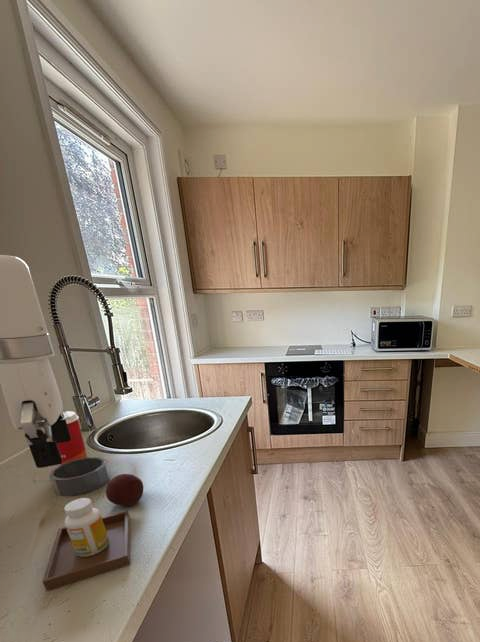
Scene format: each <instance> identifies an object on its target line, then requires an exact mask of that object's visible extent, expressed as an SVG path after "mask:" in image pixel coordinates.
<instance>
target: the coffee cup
mask: <svg viewBox="0 0 480 642" xmlns="http://www.w3.org/2000/svg"><path fill="white" fill-rule="evenodd" d="M62 412H63V414H64V419H65V420H66V423H67V426H68V429H69V432H70V436H71V440H70V441H68V442H62V443H57V446H58V449H59V452H60V455H61V458H62V463H61V464H64V463H67V462H70V461H72V460H76V459H81V458H86V457H88V455H87V451H86V446H85V442H84V438H83V433H82V430H81V425H80V421H79V419H80V417H79V415H78V414H77V413H76V412H75V411H71V410H67V411H62ZM64 419H61V420H64ZM41 422H44V421H41ZM61 464H60V465H61Z"/></svg>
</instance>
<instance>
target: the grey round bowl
mask: <svg viewBox="0 0 480 642" xmlns="http://www.w3.org/2000/svg"><path fill="white" fill-rule="evenodd" d="M49 473H50V474H49V476H48V477H49V480H50V482H51V485H52V488H53V490H54V493H56V494H58V496H60V497H63V496H64V497H75V496H79V495H83V494H87V493H90V492H93V491H95V490H97V489H99V488H102V487H103V486H104V485H106V484H108V483H109V481H110V480H111V474H110V470H109V466H108V463H107V459H105V458H102V457H101V456H87V457H86V458H81V459H76V460H72V461H70V462H67V463H64V464H59V465H57V466H56V467H55V468H53V469H52V470H51V471H50V472H49Z"/></svg>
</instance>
